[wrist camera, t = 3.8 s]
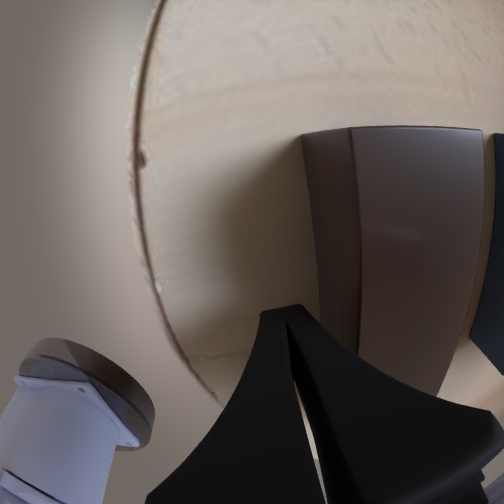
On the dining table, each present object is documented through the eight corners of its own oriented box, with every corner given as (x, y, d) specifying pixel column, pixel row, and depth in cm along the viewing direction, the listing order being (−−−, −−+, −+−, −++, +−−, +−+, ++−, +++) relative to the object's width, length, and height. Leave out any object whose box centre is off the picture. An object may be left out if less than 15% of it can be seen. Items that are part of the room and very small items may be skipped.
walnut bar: (322, 392, 13) (342, 455, 9) (299, 134, 8) (347, 127, 4) (391, 371, 12) (422, 425, 9) (403, 127, 8) (483, 129, 4)
